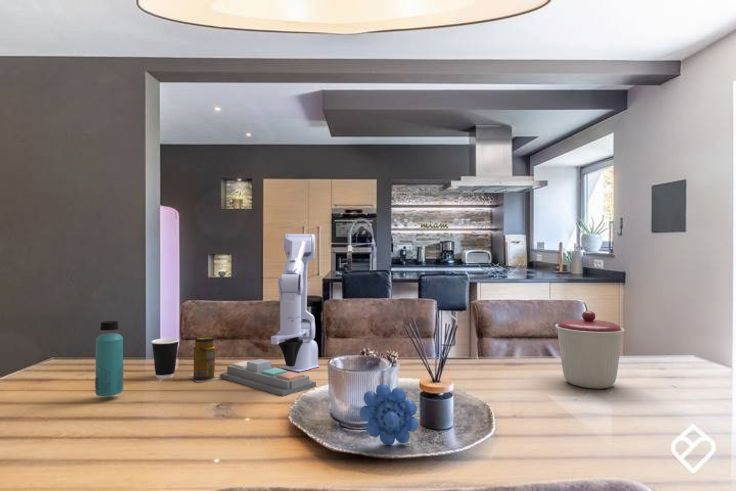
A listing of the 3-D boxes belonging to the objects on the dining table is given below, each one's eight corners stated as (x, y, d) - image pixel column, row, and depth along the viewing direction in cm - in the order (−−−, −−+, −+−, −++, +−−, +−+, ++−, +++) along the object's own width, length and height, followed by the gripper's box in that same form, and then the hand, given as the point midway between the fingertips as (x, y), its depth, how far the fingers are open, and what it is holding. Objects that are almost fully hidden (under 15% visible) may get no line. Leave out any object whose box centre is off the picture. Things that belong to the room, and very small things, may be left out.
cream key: (246, 368, 146) (246, 360, 146) (256, 371, 143) (256, 363, 143) (233, 371, 142) (233, 363, 142) (242, 374, 139) (242, 366, 139)
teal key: (275, 375, 137) (275, 367, 137) (286, 378, 134) (286, 370, 134) (261, 379, 134) (261, 370, 134) (272, 382, 130) (272, 373, 130)
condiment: (211, 373, 146) (212, 335, 146) (221, 379, 139) (221, 339, 139) (187, 377, 141) (188, 337, 142) (196, 383, 135) (196, 341, 135)
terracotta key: (291, 380, 133) (291, 371, 133) (303, 383, 130) (303, 374, 130) (277, 383, 129) (277, 375, 129) (289, 387, 126) (289, 378, 126)
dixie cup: (184, 373, 145) (184, 338, 145) (168, 380, 137) (169, 343, 137) (161, 372, 146) (161, 337, 147) (144, 379, 139) (145, 342, 139)
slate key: (260, 366, 142) (260, 358, 142) (271, 369, 139) (271, 361, 139) (246, 369, 138) (246, 361, 138) (257, 372, 135) (257, 364, 135)
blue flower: (361, 456, 86) (361, 391, 86) (358, 441, 93) (358, 381, 93) (423, 453, 87) (423, 389, 88) (415, 439, 94) (415, 379, 94)
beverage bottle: (129, 396, 122) (130, 320, 122) (105, 404, 116) (106, 323, 116) (112, 393, 124) (113, 318, 125) (88, 400, 118) (89, 321, 119)
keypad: (252, 369, 150) (252, 360, 150) (315, 386, 132) (316, 374, 132) (220, 377, 141) (220, 366, 141) (283, 396, 122) (283, 384, 122)
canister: (609, 397, 121) (608, 316, 122) (543, 383, 135) (543, 310, 135) (635, 385, 133) (634, 311, 134) (572, 372, 147) (572, 306, 147)
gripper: (294, 313, 138) (294, 358, 138) (262, 319, 125) (261, 369, 125) (314, 314, 135) (314, 361, 135) (282, 321, 122) (282, 373, 122)
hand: (290, 365), depth 130 cm, fingers closed
